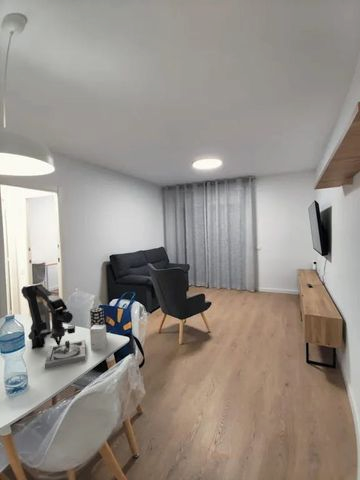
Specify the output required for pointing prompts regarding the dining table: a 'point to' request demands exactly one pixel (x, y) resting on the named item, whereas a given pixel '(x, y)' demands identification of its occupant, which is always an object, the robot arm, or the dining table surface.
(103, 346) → the small box
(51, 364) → the grey square tray
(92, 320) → the spotted tube
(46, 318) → the liquor
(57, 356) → the dial
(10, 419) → the dining table surface
